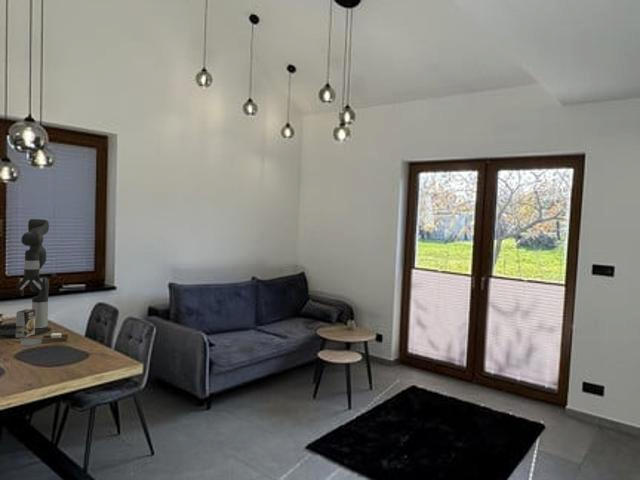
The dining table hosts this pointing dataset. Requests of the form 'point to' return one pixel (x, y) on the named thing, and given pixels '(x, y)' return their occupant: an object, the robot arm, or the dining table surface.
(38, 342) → the pad
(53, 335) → the pale block
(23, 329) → the coffee box
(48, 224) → the robot arm
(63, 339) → the chute
